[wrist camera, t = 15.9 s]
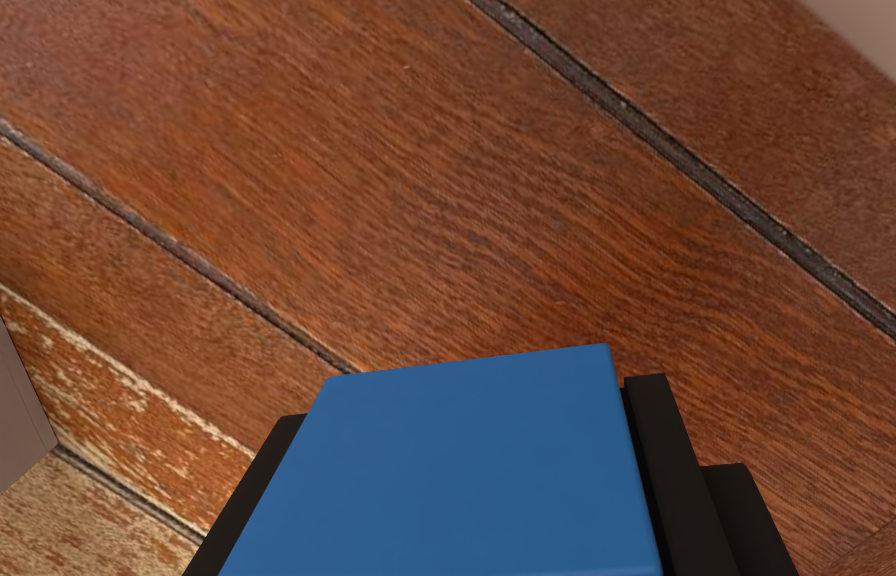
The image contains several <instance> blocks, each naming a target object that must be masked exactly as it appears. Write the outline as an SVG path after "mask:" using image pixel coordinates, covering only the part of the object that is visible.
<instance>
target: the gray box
mask: <svg viewBox="0 0 896 576" xmlns="http://www.w3.org/2000/svg"><path fill="white" fill-rule="evenodd" d="M57 444H58V441H57V439H56V437H55V434H54V432H53V430H52V428H51V426H50V423H49V421H48V419H47V417H46V415H45V412H44V410H43V408H42V406H41V404H40V401H39V399H38V397H37V395H36V393H35V391H34V388H33V386H32V384H31V382H30V380H29V377H28V375H27V373H26V371H25V369H24V366H23V364H22V362H21V360H20V358H19V355H18V353H17V351H16V349H15V347H14V345H13V342H12V340H11V338H10V336H9V334H8V331H7V329H6V327H5V325H4V323H3V320H2V318H1V316H0V495H1V494H3V493H4V492H5V491H6V490H7V489H8V488H9V487H10V486H11V485H13V484H14V483H15V482H16V481H17V480H18V479H19V478H20V477H21V476H23V475H24V474H25V473H26V472H27V471H28V470H29V469H30V468H31V467H33V466H34V465H35V464H36V463H37V462H38V461H39V460H40V459H41V458H42V457H44V456H45V455H46V454H47V453H48V452H49V451H50V450H52V449H53V448H54V447H55V446H56V445H57Z"/></svg>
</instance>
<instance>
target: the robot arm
mask: <svg viewBox="0 0 896 576" xmlns="http://www.w3.org/2000/svg"><path fill="white" fill-rule="evenodd" d="M624 386H625V388H619V389H620V393H621V397H622V401H623V405H624V410H625V414H626V418H627V422H628V426H629V431H630V435H631V439H632V443H633V447H634V452H635V456H636V460H637V464H638V468H639V473H640V477H641V481H642V485H643V489H644V494H645V498H646V502H647V506H648V510H649V515H650V519H651V523H652V527H653V531H654V536H655V540H656V544H657V548H658V552H659V557H660V561H661V565H662V569H663V576H799V574H798V572H797V570H796V568H795V566H794V563H793V561H792V559H791V557H790V555H789V553H788V551H787V549H786V547H785V545H784V542H783V540H782V538H781V536H780V534H779V532H778V530H777V528H776V526H775V524H774V521H773V519H772V517H771V515H770V513H769V511H768V509H767V507H766V505H765V503H764V500H763V498H762V496H761V494H760V492H759V490H758V488H757V486H756V484H755V482H754V480H753V477H752V475H751V473H750V472H749V470H748V468H747V466H746V465H744V464H743V463H734V464H723V465H712V466H699V464H698V461H697V458H696V455H695V453H694V450H693V447H692V445H691V442H690V439H689V437H688V434H687V431H686V429H685V426H684V423H683V420H682V418H681V415H680V412H679V410H678V407H677V404H676V402H675V399H674V396H673V394H672V391H671V388H670V386H669V383H668V380H667V377H666V375H665V373H658V374H650V375H641V376H632V377H624ZM307 414H308V413H305V414H297V415H288V416H282V417H281V418H280V419H279V420H278V421H277V423H276V424H275V426H274V428H273V429H272V431H271V432H270V434H269V436H268V437H267V439H266V440H265V442H264V444H263V445H262V447H261V449H260V450H259V452H258V453H257V455H256V457H255V458H254V460H253V461H252V463H251V465H250V466H249V468H248V470H247V471H246V473H245V474H244V476H243V478H242V479H241V481H240V482H239V484H238V486H237V487H236V489H235V491H234V492H233V494H232V495H231V497H230V499H229V500H228V502H227V504H226V505H225V507H224V508H223V510H222V512H221V513H220V515H219V516H218V518H217V520H216V521H215V523H214V525H213V526H212V528H211V529H210V531H209V533H208V534H207V536H206V537H205V539H204V541H203V542H202V544H201V546H200V547H199V549H198V550H197V552H196V554H195V555H194V557H193V558H192V560H191V562H190V563H189V565H188V567H187V568H186V570H185V571H184V573H183V575H182V576H218V575H219V573H220V571H221V569H222V567H223V566H224V564H225V562H226V560H227V558H228V556H229V555H230V553H231V551H232V549H233V547H234V546H235V544H236V542H237V540H238V538H239V537H240V535H241V533H242V531H243V529H244V528H245V526H246V524H247V522H248V520H249V519H250V517H251V515H252V513H253V511H254V510H255V508H256V506H257V504H258V502H259V501H260V499H261V497H262V495H263V493H264V492H265V490H266V488H267V486H268V484H269V483H270V481H271V479H272V477H273V475H274V474H275V472H276V470H277V468H278V466H279V465H280V463H281V461H282V459H283V457H284V456H285V454H286V452H287V450H288V448H289V446H290V445H291V443H292V441H293V439H294V437H295V436H296V434H297V432H298V430H299V428H300V427H301V425H302V423H303V421H304V419H305V418H306V416H307Z"/></svg>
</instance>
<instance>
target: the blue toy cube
mask: <svg viewBox="0 0 896 576" xmlns="http://www.w3.org/2000/svg"><path fill="white" fill-rule="evenodd" d="M218 576H663V569H662V565H661V561H660V557H659V552H658V548H657V544H656V540H655V536H654V531H653V527H652V523H651V519H650V515H649V510H648V506H647V502H646V498H645V494H644V489H643V485H642V481H641V477H640V473H639V468H638V464H637V460H636V456H635V452H634V447H633V443H632V439H631V435H630V431H629V426H628V422H627V418H626V414H625V410H624V405H623V401H622V397H621V393H620V389H619V384H618V380H617V376H616V372H615V367H614V363H613V359H612V355H611V351H610V348H609V346H608V345H607V344H604V343H600V344H592V345H584V346H576V347H568V348H560V349H552V350H543V351H535V352H527V353H519V354H511V355H503V356H495V357H487V358H478V359H470V360H462V361H454V362H446V363H438V364H430V365H422V366H413V367H405V368H397V369H389V370H381V371H373V372H365V373H357V374H348V375H340V376H332V377H330V378H328V379H327V380H326V382H325V383H324V385H323V387H322V389H321V391H320V392H319V394H318V396H317V398H316V400H315V401H314V403H313V405H312V407H311V409H310V410H309V412H308V414H307V416H306V418H305V419H304V421H303V423H302V425H301V427H300V428H299V430H298V432H297V434H296V436H295V437H294V439H293V441H292V443H291V445H290V446H289V448H288V450H287V452H286V454H285V456H284V457H283V459H282V461H281V463H280V465H279V466H278V468H277V470H276V472H275V474H274V475H273V477H272V479H271V481H270V483H269V484H268V486H267V488H266V490H265V492H264V493H263V495H262V497H261V499H260V501H259V502H258V504H257V506H256V508H255V510H254V511H253V513H252V515H251V517H250V519H249V520H248V522H247V524H246V526H245V528H244V529H243V531H242V533H241V535H240V537H239V538H238V540H237V542H236V544H235V546H234V547H233V549H232V551H231V553H230V555H229V556H228V558H227V560H226V562H225V564H224V566H223V567H222V569H221V571H220V573H219V575H218Z"/></svg>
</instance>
